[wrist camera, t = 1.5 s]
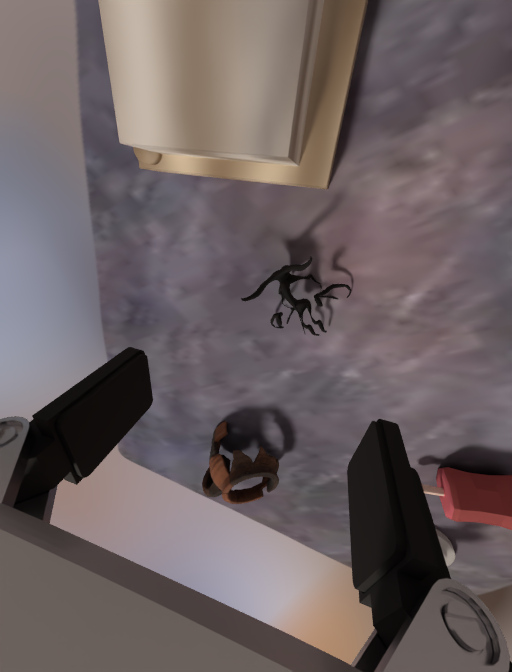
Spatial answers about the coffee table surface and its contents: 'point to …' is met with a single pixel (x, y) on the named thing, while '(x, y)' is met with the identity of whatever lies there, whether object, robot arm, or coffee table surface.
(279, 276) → the creature
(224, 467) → the pottery mug
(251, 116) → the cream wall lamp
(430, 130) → the coffee table surface
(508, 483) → the meat
